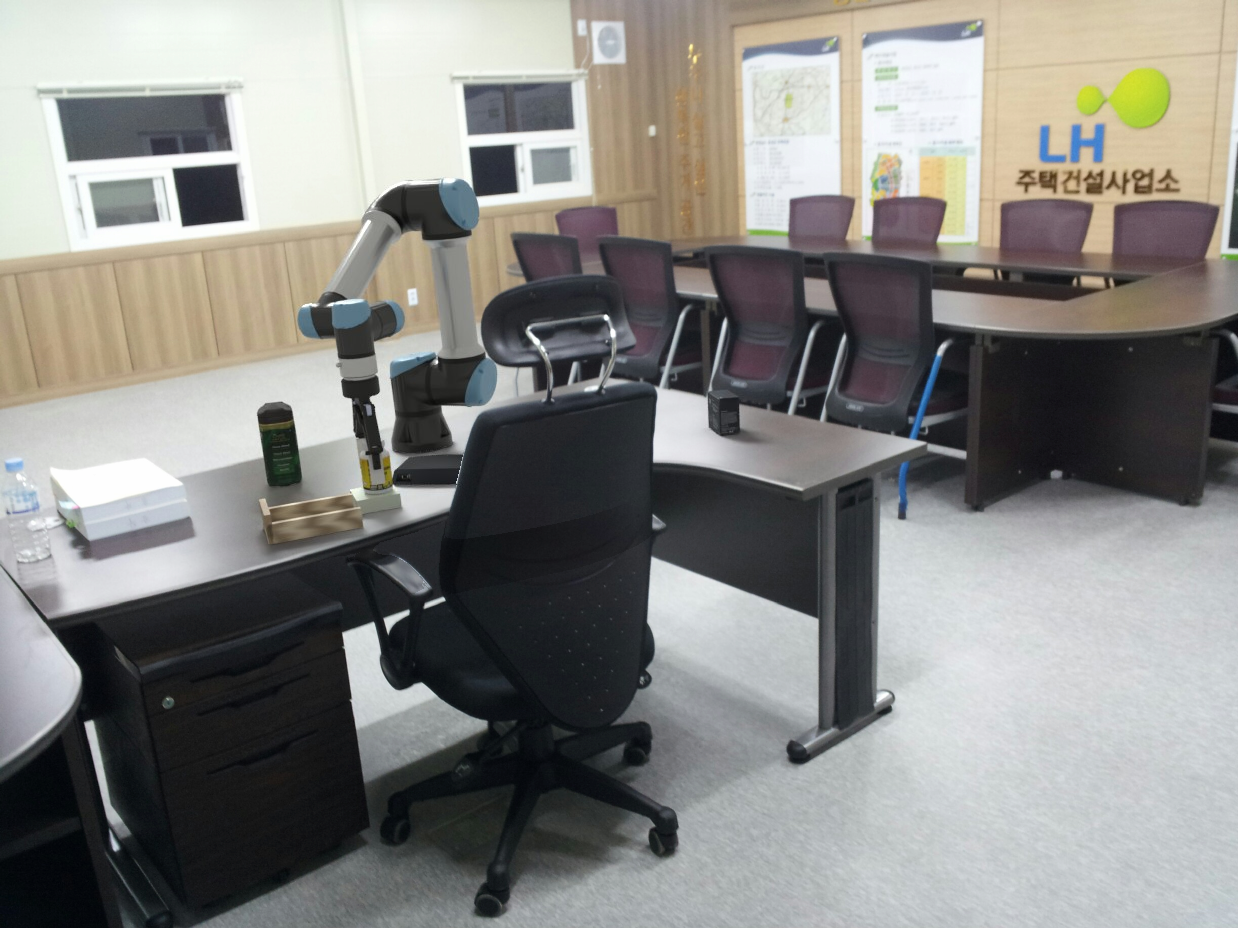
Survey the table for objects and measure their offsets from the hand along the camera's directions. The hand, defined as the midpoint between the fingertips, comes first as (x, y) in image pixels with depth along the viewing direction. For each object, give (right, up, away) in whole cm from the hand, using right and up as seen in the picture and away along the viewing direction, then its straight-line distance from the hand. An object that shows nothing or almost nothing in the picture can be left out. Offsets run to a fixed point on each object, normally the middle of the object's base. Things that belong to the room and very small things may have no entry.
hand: (372, 475), depth 227 cm
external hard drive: (+11, -1, +20) cm, 22 cm away
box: (+78, +11, +42) cm, 89 cm away
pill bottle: (+1, -3, +1) cm, 4 cm away
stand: (0, -6, +2) cm, 6 cm away
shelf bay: (-9, -10, -9) cm, 17 cm away
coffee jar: (-25, -2, +22) cm, 34 cm away
